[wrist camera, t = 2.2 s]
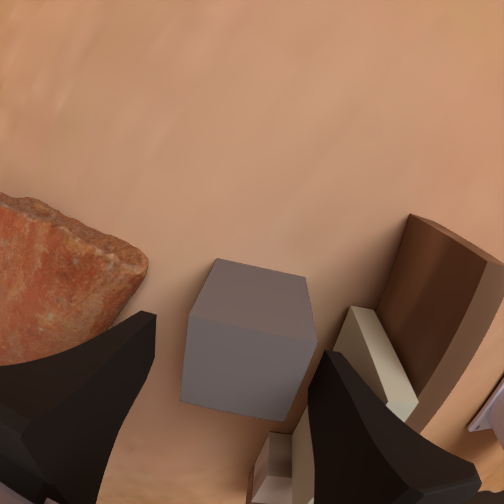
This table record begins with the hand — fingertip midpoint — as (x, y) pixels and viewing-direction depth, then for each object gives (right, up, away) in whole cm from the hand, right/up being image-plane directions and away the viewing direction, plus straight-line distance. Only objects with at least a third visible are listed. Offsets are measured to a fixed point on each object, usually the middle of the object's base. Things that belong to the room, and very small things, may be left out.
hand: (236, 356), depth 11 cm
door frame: (+5, -4, +5) cm, 8 cm away
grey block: (+1, +1, +4) cm, 4 cm away
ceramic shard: (-14, +4, +5) cm, 15 cm away
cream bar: (+5, -4, +5) cm, 8 cm away
